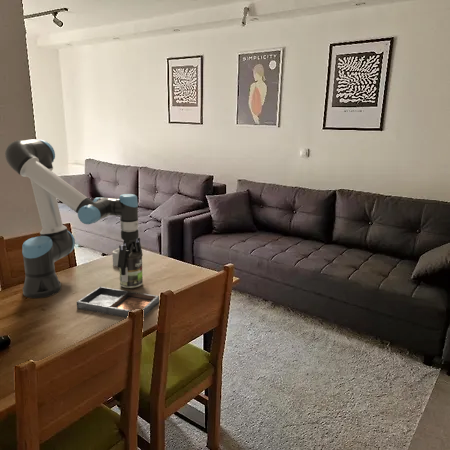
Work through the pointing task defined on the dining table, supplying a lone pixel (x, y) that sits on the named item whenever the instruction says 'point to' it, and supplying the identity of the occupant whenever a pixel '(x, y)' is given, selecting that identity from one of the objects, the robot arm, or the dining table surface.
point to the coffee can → (133, 271)
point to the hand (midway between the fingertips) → (131, 276)
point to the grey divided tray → (117, 301)
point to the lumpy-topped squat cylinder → (116, 257)
